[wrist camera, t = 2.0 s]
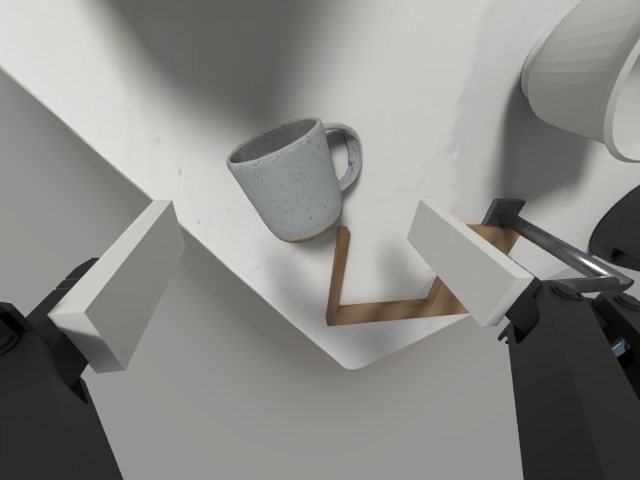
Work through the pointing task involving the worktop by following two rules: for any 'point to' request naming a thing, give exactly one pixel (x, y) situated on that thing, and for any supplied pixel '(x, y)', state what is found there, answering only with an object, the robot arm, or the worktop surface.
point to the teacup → (590, 75)
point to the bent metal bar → (557, 250)
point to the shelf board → (434, 305)
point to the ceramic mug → (295, 177)
